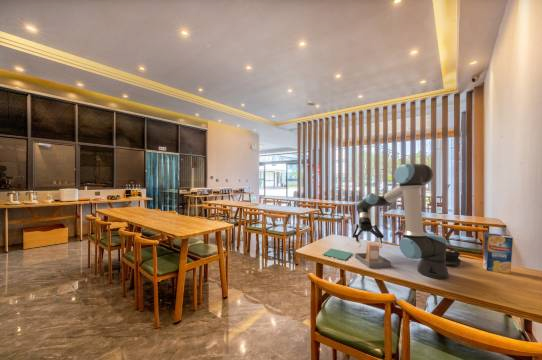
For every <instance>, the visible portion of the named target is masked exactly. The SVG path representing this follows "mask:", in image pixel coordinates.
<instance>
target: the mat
mask: <svg viewBox="0 0 542 360" xmlns="http://www.w3.org/2000/svg"><path fill="white" fill-rule="evenodd" d="M323 255H324V257H327V256H328V258H331V257H333V259H335V258H337V259H336V260H339V261H345V262H346V261H347V260H348V259H349V258H351V256H353V252H349V251H346V250H345V251H344V250H339V249H335V248H330V249H328V250H327V251H325V252H324V253H322V256H323Z"/></svg>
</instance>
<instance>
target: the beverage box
mask: <svg viewBox="0 0 542 360" xmlns="http://www.w3.org/2000/svg"><path fill="white" fill-rule="evenodd" d="M513 242H514V237H512V236H511V235H509V234H502V233H501V234H498V233H491V232H484V244H483V258H482V260H483V261H482V267H483V268H484V269H485V270H486V271H488V272H494V273H500V274H508V275H511V274H512V273H511V271H512V256H513Z"/></svg>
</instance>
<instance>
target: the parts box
mask: <svg viewBox="0 0 542 360" xmlns="http://www.w3.org/2000/svg"><path fill="white" fill-rule="evenodd" d="M365 253H366V258H365V260H366V261H368V262H369V263H375V262H380V260H379V255H380V247H379V243H378V242H366V250H365Z"/></svg>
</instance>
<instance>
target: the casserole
mask: <svg viewBox="0 0 542 360" xmlns="http://www.w3.org/2000/svg"><path fill="white" fill-rule="evenodd" d="M460 256H461V253H460V251H459V250H458V249H457V248H454V247H452V246H451V247H450V246H448V245H446V262H445V263H446V265H452V266H460V265H461V262H462V260H461V258H460Z"/></svg>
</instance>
